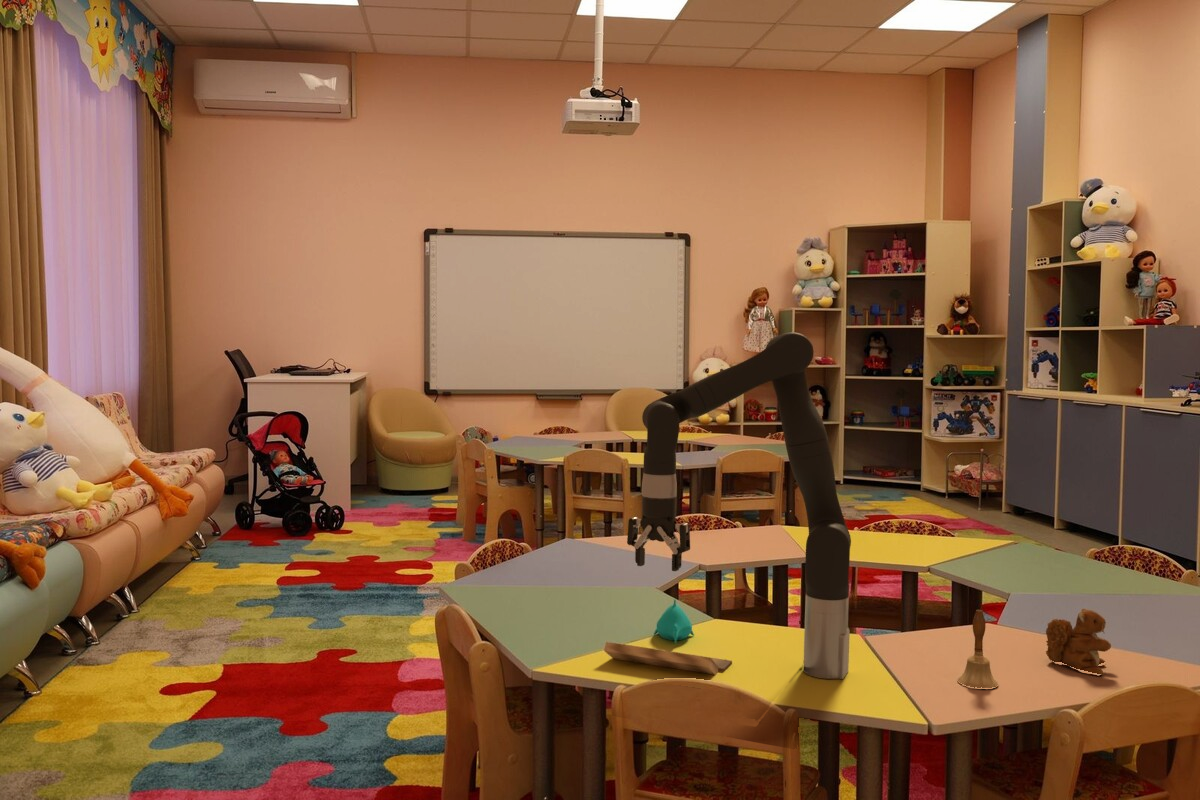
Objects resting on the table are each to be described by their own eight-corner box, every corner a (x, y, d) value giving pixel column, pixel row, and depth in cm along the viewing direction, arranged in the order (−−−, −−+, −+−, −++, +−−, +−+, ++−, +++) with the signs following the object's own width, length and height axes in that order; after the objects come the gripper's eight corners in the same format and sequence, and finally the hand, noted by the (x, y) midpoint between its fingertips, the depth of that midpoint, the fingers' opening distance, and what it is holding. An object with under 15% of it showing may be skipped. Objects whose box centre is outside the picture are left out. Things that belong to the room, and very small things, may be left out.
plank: (717, 676, 218) (718, 667, 219) (708, 667, 213) (710, 657, 214) (614, 659, 228) (616, 651, 229) (604, 650, 223) (606, 641, 223)
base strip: (731, 668, 225) (732, 660, 225) (723, 677, 219) (723, 668, 219) (623, 651, 236) (623, 644, 235) (613, 659, 230) (613, 651, 230)
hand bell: (973, 691, 213) (976, 616, 212) (949, 678, 221) (951, 606, 220) (1006, 688, 215) (1010, 614, 214) (981, 675, 223) (984, 604, 222)
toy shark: (692, 632, 252) (693, 589, 251) (696, 655, 234) (697, 609, 233) (653, 631, 252) (653, 588, 252) (654, 654, 234) (655, 608, 234)
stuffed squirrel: (1104, 678, 223) (1107, 619, 222) (1036, 665, 231) (1039, 607, 230) (1114, 667, 230) (1116, 609, 230) (1047, 654, 239) (1050, 599, 238)
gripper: (696, 494, 219) (695, 569, 220) (639, 488, 227) (637, 560, 228) (680, 499, 213) (679, 576, 214) (622, 493, 220) (620, 567, 222)
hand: (657, 568), depth 221 cm, fingers open, 8 cm apart
